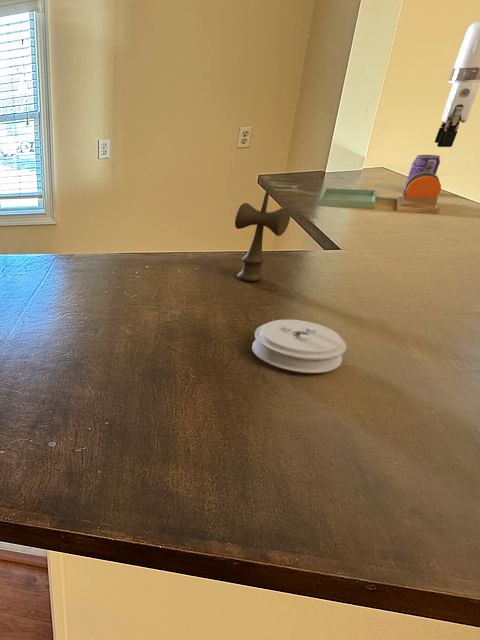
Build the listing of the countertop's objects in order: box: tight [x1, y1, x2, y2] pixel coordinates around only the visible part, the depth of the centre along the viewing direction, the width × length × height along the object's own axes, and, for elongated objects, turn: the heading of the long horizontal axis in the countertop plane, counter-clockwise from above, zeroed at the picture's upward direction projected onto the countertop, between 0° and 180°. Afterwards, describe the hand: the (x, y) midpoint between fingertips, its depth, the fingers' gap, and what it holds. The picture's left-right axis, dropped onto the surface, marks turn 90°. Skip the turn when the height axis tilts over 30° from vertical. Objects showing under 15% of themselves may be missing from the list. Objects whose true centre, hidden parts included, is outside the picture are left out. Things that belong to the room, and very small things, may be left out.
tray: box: [317, 187, 378, 209], centre depth 162 cm, size 19×15×2 cm
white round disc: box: [251, 319, 347, 374], centre depth 77 cm, size 13×13×5 cm
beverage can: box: [403, 154, 441, 192], centre depth 163 cm, size 7×7×12 cm
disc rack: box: [395, 191, 440, 214], centre depth 150 cm, size 16×10×4 cm, turn 145°
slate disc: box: [405, 172, 440, 190], centre depth 151 cm, size 1×8×8 cm, turn 55°
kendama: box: [234, 187, 292, 282], centre depth 103 cm, size 6×10×20 cm, turn 43°
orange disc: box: [406, 176, 442, 198], centre depth 146 cm, size 1×8×8 cm, turn 55°
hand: (442, 144), depth 137 cm, fingers open, 9 cm apart
